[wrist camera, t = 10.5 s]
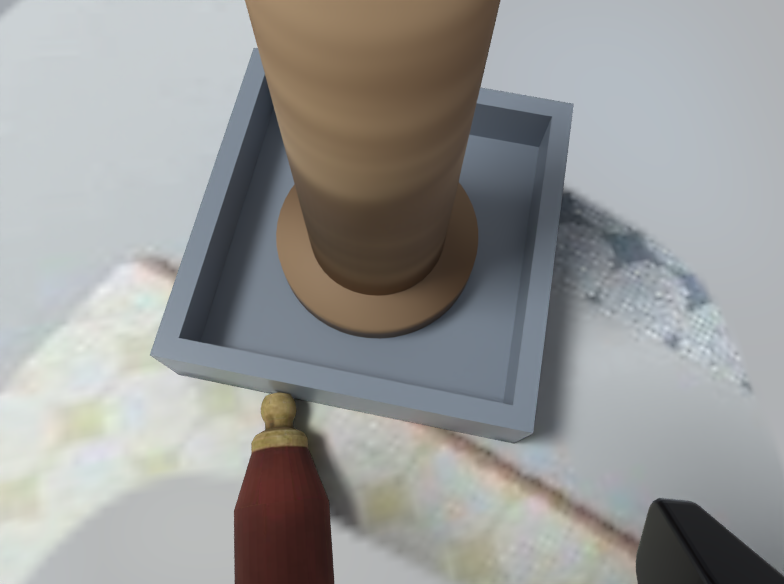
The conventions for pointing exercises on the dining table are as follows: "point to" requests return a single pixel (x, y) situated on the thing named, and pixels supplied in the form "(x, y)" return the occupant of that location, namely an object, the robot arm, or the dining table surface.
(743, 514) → the dining table surface
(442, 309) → the walnut handle
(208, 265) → the box
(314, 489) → the gavel
